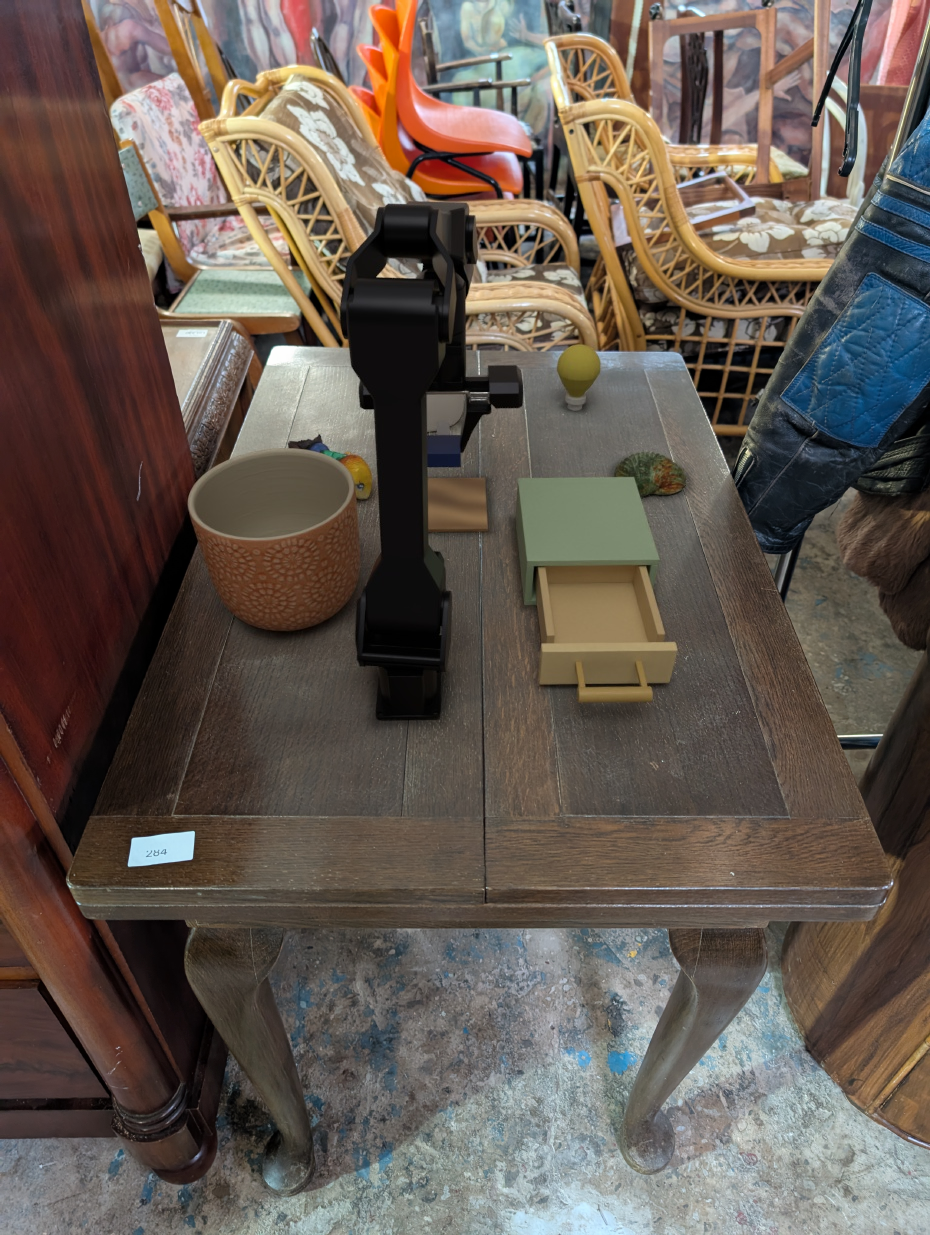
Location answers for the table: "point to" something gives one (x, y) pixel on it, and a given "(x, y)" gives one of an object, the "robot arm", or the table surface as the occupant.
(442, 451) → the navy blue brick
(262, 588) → the planter
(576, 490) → the cabinet
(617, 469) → the seashell
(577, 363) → the light bulb
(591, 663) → the drawer
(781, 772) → the table surface
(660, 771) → the table surface
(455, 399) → the can
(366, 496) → the figurine
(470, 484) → the mat
